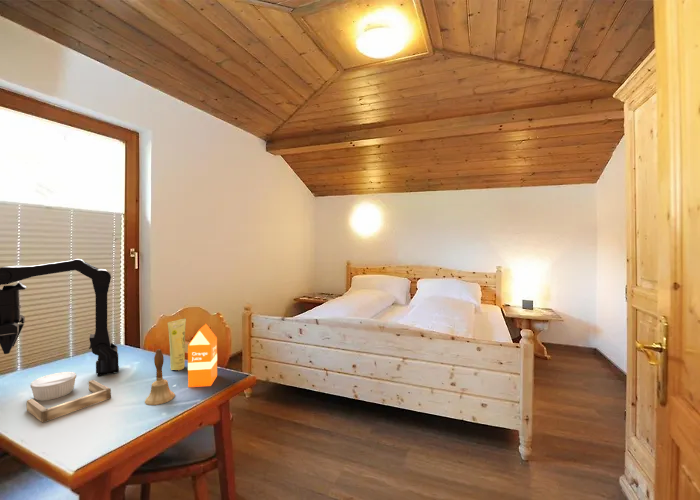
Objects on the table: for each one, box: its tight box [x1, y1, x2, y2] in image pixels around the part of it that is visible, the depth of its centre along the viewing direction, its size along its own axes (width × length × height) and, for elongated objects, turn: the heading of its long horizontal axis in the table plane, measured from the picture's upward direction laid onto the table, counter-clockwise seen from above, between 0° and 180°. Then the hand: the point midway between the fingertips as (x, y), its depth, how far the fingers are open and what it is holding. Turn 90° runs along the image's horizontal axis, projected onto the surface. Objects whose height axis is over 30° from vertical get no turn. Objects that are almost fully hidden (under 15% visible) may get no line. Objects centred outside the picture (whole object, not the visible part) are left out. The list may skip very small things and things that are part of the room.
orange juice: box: [187, 323, 218, 388], centre depth 115 cm, size 8×9×20 cm
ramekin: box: [29, 371, 77, 401], centre depth 105 cm, size 11×11×5 cm
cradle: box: [26, 379, 112, 423], centre depth 99 cm, size 16×13×3 cm
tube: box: [167, 318, 187, 371], centre depth 126 cm, size 6×5×20 cm
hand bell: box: [144, 348, 176, 406], centre depth 102 cm, size 8×8×16 cm
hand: (9, 350), depth 107 cm, fingers open, 9 cm apart
